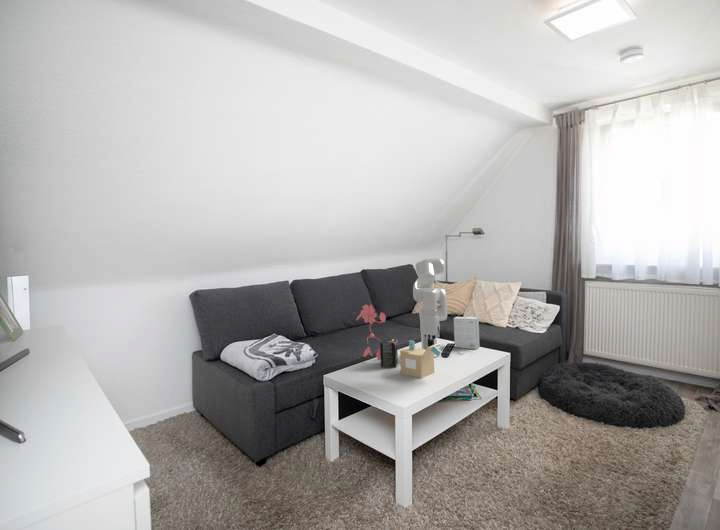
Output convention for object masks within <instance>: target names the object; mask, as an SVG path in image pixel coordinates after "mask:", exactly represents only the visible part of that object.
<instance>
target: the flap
mask: <svg viewBox="0 0 720 530" xmlns="http://www.w3.org/2000/svg"><path fill="white" fill-rule="evenodd" d="M440 345H441V343H440V342H439V343H437V344H435V345H433V346H430V347H427V349H426V351H425V352H424V354H423V356H426V355H428V354H431V353H435V354H436V355H437V357H440V355H441V353H442V351H441V349H438V347H440Z"/></svg>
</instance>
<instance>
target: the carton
mask: <svg viewBox="0 0 720 530" xmlns="http://www.w3.org/2000/svg"><path fill="white" fill-rule="evenodd" d="M415 342H416V341H415V340H409V341H408V347H406V348H402V349H400V350H399V358H400V359H399V360H400V373H401V374H404V375H407V376H411V377H416V378H419V379H423V378H425V377H427V376H430V375H432V374H434V373H435V357H434V353H431V354H428V355H426V356H423V354H424V352H425V351H426V350H425V349H422V348H421V347H418V346H415V345H416V344H415Z"/></svg>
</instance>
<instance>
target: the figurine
mask: <svg viewBox="0 0 720 530" xmlns="http://www.w3.org/2000/svg"><path fill="white" fill-rule="evenodd" d="M377 316H378V315H377V313H376V312H375V308H374V307H373V305H372V304H369V305H368V304H367V303H365V305H362V309H361V311H360V314H359V315H358V316H357V317H356V319H355V321H358V320H359V319H361V318H362V319H364V323H366V324H367V323H369V326H368V327H369V331H370V335H369V336H368V337H367V339H366V340H367V341H366V342H367V343H369V340H368V339H369V338H371V339H374V338H375V339H377V340H379V343H380V342H381V341H382V340H381V339H379V338H378V337H376V336H375V334H374V333H372V329H371V325H372V324H374V323H377V324H378V323H380V324H382V323H385V322H386V320H387V319H386V318H387V316H386V314H385V313H384V312H383V311H381V312H380V313H379V319H380V321H377V320H376V318H377ZM369 354H370V356H371V357H373V354H372V353H371V347H367V348H366V349H365V350H364V353H363V358H366V357H367V356H368V355H369ZM375 357H376V358H377V360H378V361H381V357H380V346H379V349H377V351H376V353H375ZM362 363H363V364H365V362H363V361H362Z"/></svg>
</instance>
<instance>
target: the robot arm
mask: <svg viewBox="0 0 720 530" xmlns="http://www.w3.org/2000/svg"><path fill="white" fill-rule="evenodd" d="M445 265H446V264H445V261H444V260H443V259H442V258H425V259H423V260H421V261H418V262H416V263H415V273H416V274H417V277H418V278H417V279H416V280H415V281H414V283H413V286H412V296H413V299H414V301H415V302H417V303H419V302H420V303H422V306H420V308H419V309H418V314H419V321H420V326H419V327H420V329H419V330H420V331H419V332H420V336H421V337H420V339H421V349H425V350H426V349H427V347H430V346H433V345H435V344H438V343H437V338H440V332H441V325H440V322H443V321H446V320H447V319H448V301H447V292H446V290H445V289H444V288H439V287H437V288H436V287H435V283H434V282H435V281H436V275H443V273H444V272H445V268H446V266H445ZM438 349H439V350H441V346H439V347H438ZM436 357H438V356H437V355H436V354H435V353H434V358H436Z"/></svg>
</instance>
